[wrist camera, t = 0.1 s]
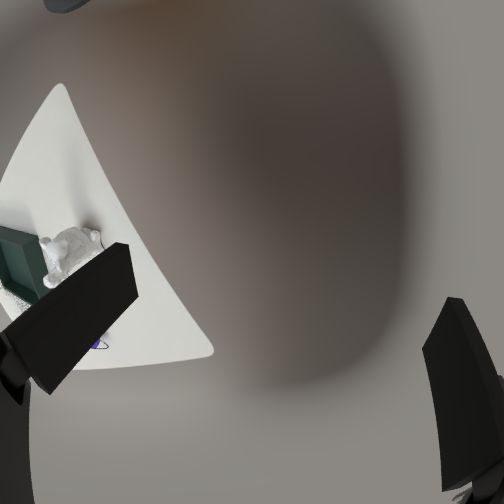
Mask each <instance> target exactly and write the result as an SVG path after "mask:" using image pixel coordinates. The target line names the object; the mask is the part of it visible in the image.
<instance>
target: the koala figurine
mask: <svg viewBox="0 0 504 504" xmlns="http://www.w3.org/2000/svg"><path fill="white" fill-rule="evenodd" d="M39 243H40V246H41V247H43V248H44V249H45V250H46V253H47V256H48V258H49V259H50V260H51V261H52V262H53V263H55V265H56V266H55V267H54V268H53V270H52V271H50V273H49V274H47V275H46V276H45V277H44V278H43V281H44V285H45V286H47V287H48V288H53V287H56V286H58V285H59V284H60V283H61V280H63V279H66V278H67V277H68V276H69V274H68V272H70V270H72V268H73V267H74V266H76V265H78V264H79V263H80V262H82V261H83V260H85V259H87V258H90V256H92V254H94V253H95V254H98V255H99V254H100V253H101V252H103V251H104V249H103V248H102V245H101V242H100V232H99V231H95V230H93V231H92V230H90V229H88V228H82V231H81V230H79V229H78V228H77V227H72V228H68V229H66V230H64V231H62V232H61V233H59V234H58V235H57V236H56V238H54V239H53V240H52V241H51V239H50V238H49V237H44V238H41V239H40V240H39Z"/></svg>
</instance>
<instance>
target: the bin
mask: <svg viewBox="0 0 504 504" xmlns="http://www.w3.org/2000/svg"><path fill="white" fill-rule="evenodd" d="M47 274H49V273H48V270H47V267H46V264H45V261H44V257H43V254H42V250H41V247H40V243H39V239H38V236H35V235H32V234H28V233H24V232H20V231H16V230H13V229H9V228H5V227H1V226H0V280H1V283H2V285H3V288H5V289H6V290H8V291H9V292H11V293H12V294H14V295H15V296H17V297H18V298H20V299H21V300H23V301H25V302H26V303H28V304H30V305H31V306H32V305H34V303H35V302H36V301H38V300H39V299H40V298H41V297H42V296H44V295H46V294H48V293H49V292H50V291H51V290H53V289H54V288H48V287H47V286H45V285H44V281H43V278H44V277H45V276H46V275H47Z"/></svg>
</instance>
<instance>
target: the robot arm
mask: <svg viewBox="0 0 504 504" xmlns="http://www.w3.org/2000/svg"><path fill="white" fill-rule="evenodd" d="M138 297H139V296H138V291H137V287H136V282H135V277H134V272H133V267H132V261H131V256H130V250H129V245H128V244H122V243H117V242H115V243H114V244H113V245H111V246H110V247H108V248H107V249H105V250H104V251H103V252H101V253H100V254H99V255H97V256H96V257H94V258H93V259H92V260H90V261H89V262H88V263H86V264H85V265H84V266H82V267H81V268H80V269H78V270H77V271H76V272H74V273H73V274H72V275H70V276H69V277H68V278H66V279H65V280H64V281H63V282H61V283H60V284H59V285H58V286H56V287H55V288H54V289H53V290H51V291H50V292H49V293H48V294H46V295H44V296H42V297H41V298H40V299H39V300H38V301H36V302H35V303H34V305H32V306H30V307H29V308H28V309H27V311H25V312H23V313H22V314H21V315H20V316H19V317H18V318H17V319H15V320H14V321H13V322H12V323H11V324H10V325H9V326H8V327H7V328H6V329H5V330H3V331H2V332H1V333H0V504H35V503H34V496H33V490H32V481H31V472H30V460H29V459H30V458H29V406H30V392H31V383H30V381H29V378H30V377H32V378H33V379H34V381H35V382H36V384H37V385H38V386H39V387H40V388H41V389H43V390H44V391H45V392H46V393H48V394H49V395H51V394H52V392H53V391H54V390H55V389H56V388H57V386H58V385H59V384H60V383H61V382H62V380H63V379H64V378H65V377H66V376H67V374H68V373H69V372H70V371H71V370H72V369H73V368H74V366H75V365H76V364H77V363H78V362H79V361H80V360H81V358H82V357H83V356H84V355H85V354H86V353H87V352H88V351H89V349H90V348H91V347H92V346H93V345H94V344H95V343H96V342H97V341H98V339H99V338H100V337H101V336H102V335H103V334H104V333H105V332H106V331H107V330H108V328H109V327H110V326H111V325H112V324H113V323H114V322H115V321H116V320H117V319H118V318H119V317H120V316H121V314H122V313H123V312H124V311H125V310H126V309H127V308H128V307H129V306H130V305H131V304H132V303H133V302H134V301H135V300H136V299H137V298H138ZM422 351H423V355H424V359H425V363H426V367H427V372H428V376H429V381H430V386H431V391H432V397H433V402H434V408H435V414H436V421H437V429H438V437H439V447H440V459H441V476H442V492H444V491H448V490H454V489H458V488H461V487H462V486H464V485H466V484H468V483H469V482H471V481H472V487H471V488H469V489H467V490H465V491H463V492H462V493H460V494H458V495H456V496H455V497H454V499H453V500H452V501H456V500H458V499H460V498H462V497H463V498H462V500H460V501H459V502H457V504H504V379H503V378H502V376H501V375H500V376H499V375H497V372H496V369H495V367H494V364H493V362H492V359H491V357H490V354H489V352H488V350H487V348H486V345H485V343H484V341H483V339H482V336H481V334H480V333H479V330H478V328H477V326H476V324H475V322H474V320H473V318H472V316H471V314H470V312H469V310H468V308H467V306H466V304H465V303H464V301H463V299H459V298H452V297H448V298H447V300H446V302H445V304H444V306H443V308H442V311H441V313H440V315H439V317H438V319H437V321H436V323H435V325H434V327H433V329H432V331H431V333H430V335H429V337H428V338H427V340H426V342H425V344H424V346H423V348H422Z"/></svg>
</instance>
